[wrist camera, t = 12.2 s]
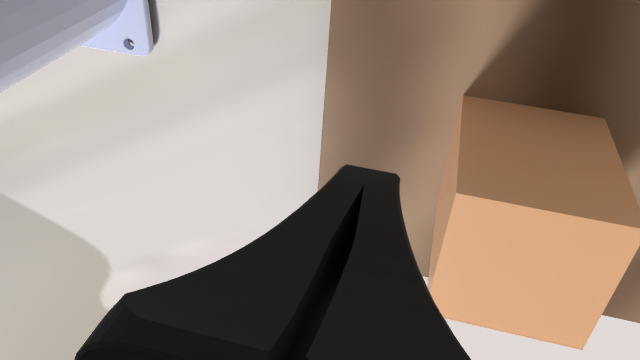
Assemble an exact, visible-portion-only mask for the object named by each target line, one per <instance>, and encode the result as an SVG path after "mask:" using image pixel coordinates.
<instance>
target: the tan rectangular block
mask: <svg viewBox="0 0 640 360" xmlns="http://www.w3.org/2000/svg"><path fill="white" fill-rule="evenodd" d="M639 246H640V208H639V205H638V203H637V200H636V198H635V195H634V193H633V190H632V187H631V185H630V182H629V180H628V177H627V174H626V172H625V169H624V167H623V164H622V162H621V159H620V156H619V154H618V151H617V149H616V146H615V143H614V141H613V138H612V136H611V133H610V131H609V128H608V125H607V123H606V120H605V118H599V117H592V116H586V115H580V114H574V113H568V112H562V111H556V110H550V109H544V108H538V107H532V106H526V105H520V104H514V103H507V102H501V101H495V100H489V99H483V98H477V97H471V96H465V95H463V97H462V101H461V105H460V109H459V114H458V118H457V122H456V126H455V130H454V134H453V138H452V143H451V147H450V151H449V155H448V159H447V163H446V167H445V172H444V176H443V180H442V184H441V188H440V192H439V196H438V200H437V208H436V217H435V225H434V234H433V242H432V251H431V259H430V268H429V277H428V285H427V288H428V290H429V292H430V294H431V296H432V298H433V300H434V302H435V304H436V306H437V307H438V309H439V311H440V312H441V314H442V316H443V318H446V319H451V320H455V321H459V322H464V323H468V324H472V325H477V326H481V327H485V328H490V329H494V330H498V331H503V332H507V333H511V334H515V335H520V336H524V337H528V338H533V339H537V340H541V341H546V342H550V343H554V344H559V345H563V346H567V347H572V348H576V349H580V350H582V349H583V348H584V346H585V344H586V342H587V340H588V338H589V337H590V335H591V333H592V331H593V329H594V328H595V326H596V324H597V322H598V320H599V318H600V317H601V315H602V313H603V311H604V309H605V308H606V306H607V304H608V302H609V300H610V299H611V297H612V295H613V293H614V291H615V289H616V288H617V286H618V284H619V282H620V280H621V279H622V277H623V275H624V273H625V271H626V269H627V268H628V266H629V264H630V262H631V260H632V259H633V257H634V255H635V253H636V251H637V250H638V248H639Z"/></svg>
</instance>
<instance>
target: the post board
mask: <svg viewBox="0 0 640 360" xmlns="http://www.w3.org/2000/svg"><path fill="white" fill-rule="evenodd" d="M463 95H465V96H471V97H477V98H483V99H489V100H495V101H501V102H507V103H514V104H520V105H526V106H532V107H538V108H544V109H550V110H556V111H562V112H568V113H574V114H580V115H586V116H592V117H599V118H605V120H606V123H607V125H608V128H609V131H610V133H611V136H612V138H613V141H614V143H615V146H616V149H617V151H618V154H619V156H620V159H621V162H622V164H623V167H624V169H625V172H626V174H627V177H628V180H629V182H630V185H631V187H632V190H633V193H634V195H635V198H636V200H637V203H638V205H639V208H640V0H332V2H331V16H330V30H329V44H328V58H327V72H326V85H325V99H324V113H323V127H322V141H321V155H320V169H319V183H318V191H319V190H320V189H321V188H322V187H323V186H324V185H325V184H326V183H327V182H328V181H329V180H330V179H331V178H332V177H333V176H334V175H335V174H336V173H337V171H338V170H339V169H340V168H341V167H342V166H344V165H346V164H348V165H353V166H358V167H364V168H369V169H374V170H379V171H385V172H390V173H395V174H397V175H398V176H399V178H400V201H401V208H402V214H403V218H404V223H405V227H406V231H407V235H408V238H409V242H410V245H411V248H412V251H413V254H414V257H415V259H416V262H417V265H418V267H419V270H420V272H421V275H422V276H425V277H429V268H430V259H431V251H432V242H433V234H434V225H435V217H436V208H437V200H438V196H439V192H440V188H441V184H442V180H443V176H444V172H445V167H446V163H447V159H448V155H449V151H450V147H451V143H452V138H453V134H454V130H455V126H456V122H457V118H458V114H459V109H460V105H461V101H462V97H463ZM602 315H605V316H610V317H614V318H619V319H624V320H628V321H633V322H637V323H640V246H639V248H638V250H637V251H636V253H635V255H634V257H633V259H632V260H631V262H630V264H629V266H628V268H627V269H626V271H625V273H624V275H623V277H622V279H621V280H620V282H619V284H618V286H617V288H616V289H615V291H614V293H613V295H612V297H611V299H610V300H609V302H608V304H607V306H606V308H605V309H604V311H603V313H602Z"/></svg>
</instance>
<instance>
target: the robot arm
mask: <svg viewBox="0 0 640 360" xmlns="http://www.w3.org/2000/svg"><path fill="white" fill-rule="evenodd" d="M128 38H129V39H131V40H132V41H133V43H134V46H131V45H130V43H129V41H128ZM78 46H82V47H88V48H94V49H100V50H106V51H112V52H119V53H125V54H131V55H137V56H146V55H148V54H149V53H151V52H152V50H153V47H154V43H153V35H152V27H151V19H150V11H149V3H148V0H0V92H2V91H4V90H5V89H7V88H9V87H11V86H12V85H14V84H16V83H17V82H19V81H21V80H22V79H24V78H26V77H27V76H29V75H31V74H32V73H34V72H36V71H37V70H39V69H41V68H43V67H44V66H46V65H48V64H49V63H51V62H53V61H54V60H56V59H58V58H59V57H61V56H63V55H64V54H66V53H68V52H69V51H71V50H73V49H74V48H76V47H78ZM75 360H471V359H470V357H469V356H468V355H467V353H466V352H465V350H464V349H463V347H462V346H461V345H460V343H459V342H458V340H457V339H456V337H455V336H454V334H453V333H452V331H451V329H450V328H449V326H448V324H447V323H446V321H445V319H444V318H443V316H442V314H441V312H440V311H439V309H438V307H437V306H436V304H435V302H434V300H433V298H432V296H431V294H430V292H429V290H428V288H427V286H426V284H425V281H424V279H423V277H422V275H421V272H420V270H419V267H418V265H417V262H416V259H415V257H414V254H413V251H412V248H411V245H410V242H409V238H408V235H407V231H406V227H405V223H404V218H403V214H402V208H401V201H400V178H399V176H398V175H397V174H395V173H390V172H385V171H379V170H374V169H369V168H364V167H358V166H353V165H348V164H346V165H344V166H342V167H341V168H340V169H339V170H338V171H337V173H336V174H335V175H334V176H333V177H332V178H331V179H330V180H329V181H328V182H327V183H326V184H325V185H324V186H323V187H322V188H321V189H320V190H319V191H318V192H317V193H316V194H314V195H313V196H312V197H311V198H310V199H309V200H308V201H307V202H305V203H304V204H303V205H302V206H301V207H300V208H299V209H297V210H296V211H295V212H294V213H292V214H291V215H290V216H288V217H287V218H286V219H285V220H283V221H282V222H281V223H279V224H278V225H277V226H275V227H274V228H273V229H271V230H270V231H268V232H267V233H265V234H264V235H262V236H261V237H259V238H258V239H256V240H254V241H253V242H251V243H250V244H248V245H246V246H245V247H243V248H241V249H239V250H237V251H235V252H234V253H232V254H230V255H228V256H226V257H224V258H222V259H220V260H218V261H216V262H214V263H212V264H210V265H207V266H205V267H203V268H200V269H198V270H196V271H193V272H191V273H188V274H185V275H183V276H180V277H178V278H175V279H172V280H169V281H166V282H163V283H160V284H157V285H153V286H150V287H147V288H144V289H140V290H137V291H134V292H130V293H126V294H125V295H124V296H123V297H122V298H121V299H120V300H119V301H118V302H117V303H116V304H115V305H114V307H113V308H112V309H111V310H110V311H109V312H108V313H107V315H106V316H105V317H104V318H103V319H102V321H101V322H100V323H99V324H98V326H97V327H96V328H95V330H94V331H93V332H92V334H91V335H90V336H89V338H88V339H87V340H86V342H85V343H84V344H83V346H82V347H81V348H80V350H79V351H78V352H77V354H76V357H75Z"/></svg>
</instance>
